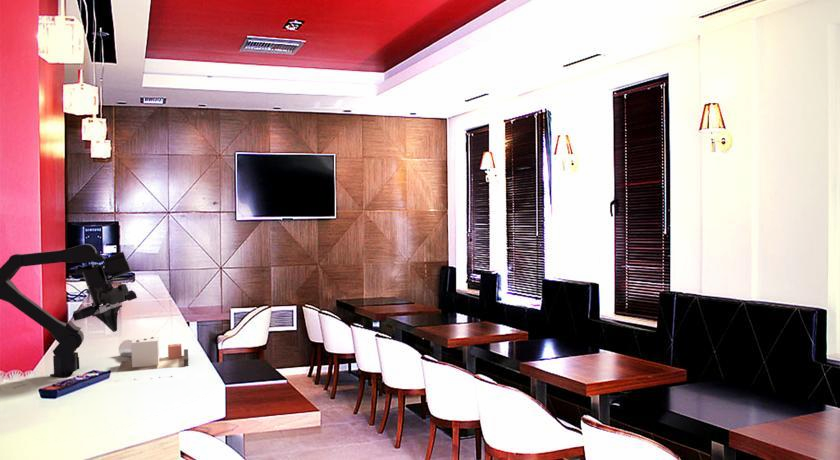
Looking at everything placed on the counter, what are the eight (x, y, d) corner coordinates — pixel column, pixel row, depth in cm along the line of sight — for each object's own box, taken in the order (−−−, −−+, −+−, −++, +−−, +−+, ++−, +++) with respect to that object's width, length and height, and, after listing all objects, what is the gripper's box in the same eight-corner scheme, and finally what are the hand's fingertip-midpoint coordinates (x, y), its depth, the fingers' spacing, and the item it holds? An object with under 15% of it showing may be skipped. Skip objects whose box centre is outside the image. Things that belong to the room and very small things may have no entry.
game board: (117, 376, 209) (116, 365, 209) (122, 364, 227) (121, 354, 226) (188, 369, 216) (188, 359, 216) (188, 358, 233) (187, 349, 233)
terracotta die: (168, 359, 227) (168, 346, 227) (168, 356, 231) (168, 343, 231) (181, 358, 228) (181, 344, 228) (181, 355, 232) (181, 342, 232)
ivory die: (132, 367, 216) (131, 341, 215) (133, 362, 223) (132, 337, 223) (158, 365, 218) (157, 339, 218) (159, 360, 225) (158, 335, 225)
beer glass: (141, 351, 241) (163, 351, 231) (124, 363, 236) (145, 364, 226) (130, 334, 239) (152, 333, 229) (113, 346, 234) (134, 347, 224)
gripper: (83, 289, 204) (102, 339, 205) (138, 269, 219) (155, 317, 221) (63, 295, 210) (82, 344, 212) (117, 275, 225) (135, 321, 227)
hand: (115, 331), depth 217 cm, fingers closed
